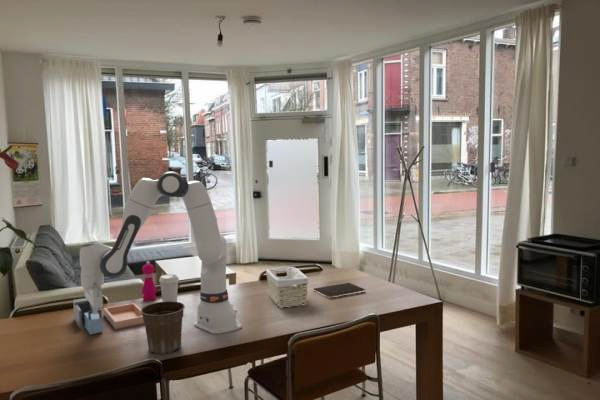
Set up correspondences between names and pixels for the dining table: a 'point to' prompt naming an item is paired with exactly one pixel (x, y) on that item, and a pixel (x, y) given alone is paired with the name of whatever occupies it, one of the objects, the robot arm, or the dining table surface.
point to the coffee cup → (169, 287)
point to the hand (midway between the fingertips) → (94, 313)
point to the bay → (81, 310)
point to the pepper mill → (148, 282)
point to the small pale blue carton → (93, 322)
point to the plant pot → (163, 326)
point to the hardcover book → (339, 289)
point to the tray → (124, 316)
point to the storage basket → (287, 287)
